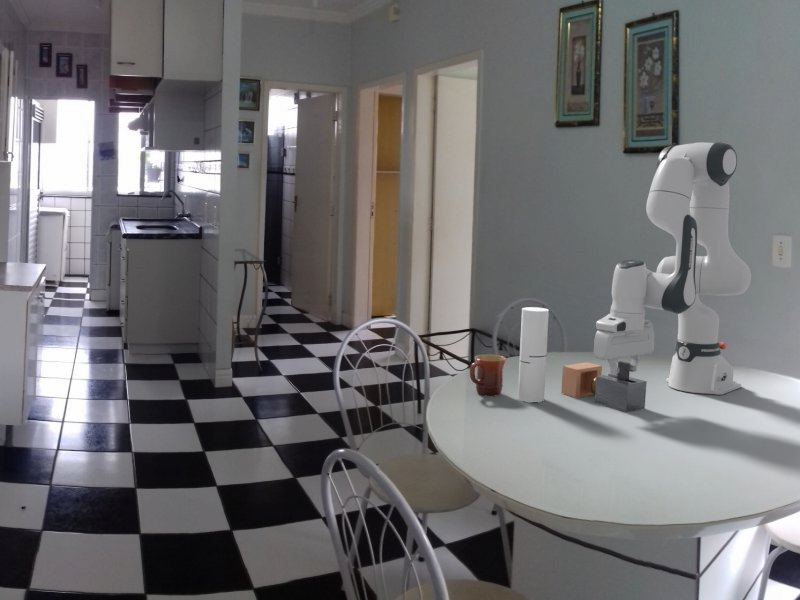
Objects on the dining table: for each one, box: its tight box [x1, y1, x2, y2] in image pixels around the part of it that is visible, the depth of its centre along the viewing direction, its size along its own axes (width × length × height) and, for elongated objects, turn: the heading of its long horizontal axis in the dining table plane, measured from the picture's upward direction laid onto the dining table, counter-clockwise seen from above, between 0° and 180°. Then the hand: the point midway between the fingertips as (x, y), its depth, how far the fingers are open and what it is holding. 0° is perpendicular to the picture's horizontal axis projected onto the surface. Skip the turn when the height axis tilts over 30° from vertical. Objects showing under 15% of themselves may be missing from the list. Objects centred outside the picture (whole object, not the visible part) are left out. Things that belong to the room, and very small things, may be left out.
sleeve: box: [594, 373, 647, 413], centre depth 215 cm, size 7×11×7 cm
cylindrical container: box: [517, 306, 550, 403], centre depth 218 cm, size 7×7×25 cm
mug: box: [469, 354, 507, 397], centre depth 223 cm, size 12×9×10 cm
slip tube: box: [590, 360, 631, 395], centre depth 217 cm, size 5×12×11 cm, turn 34°
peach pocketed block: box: [560, 361, 603, 399], centre depth 227 cm, size 10×5×8 cm, turn 124°
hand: (623, 372), depth 214 cm, fingers open, 5 cm apart
